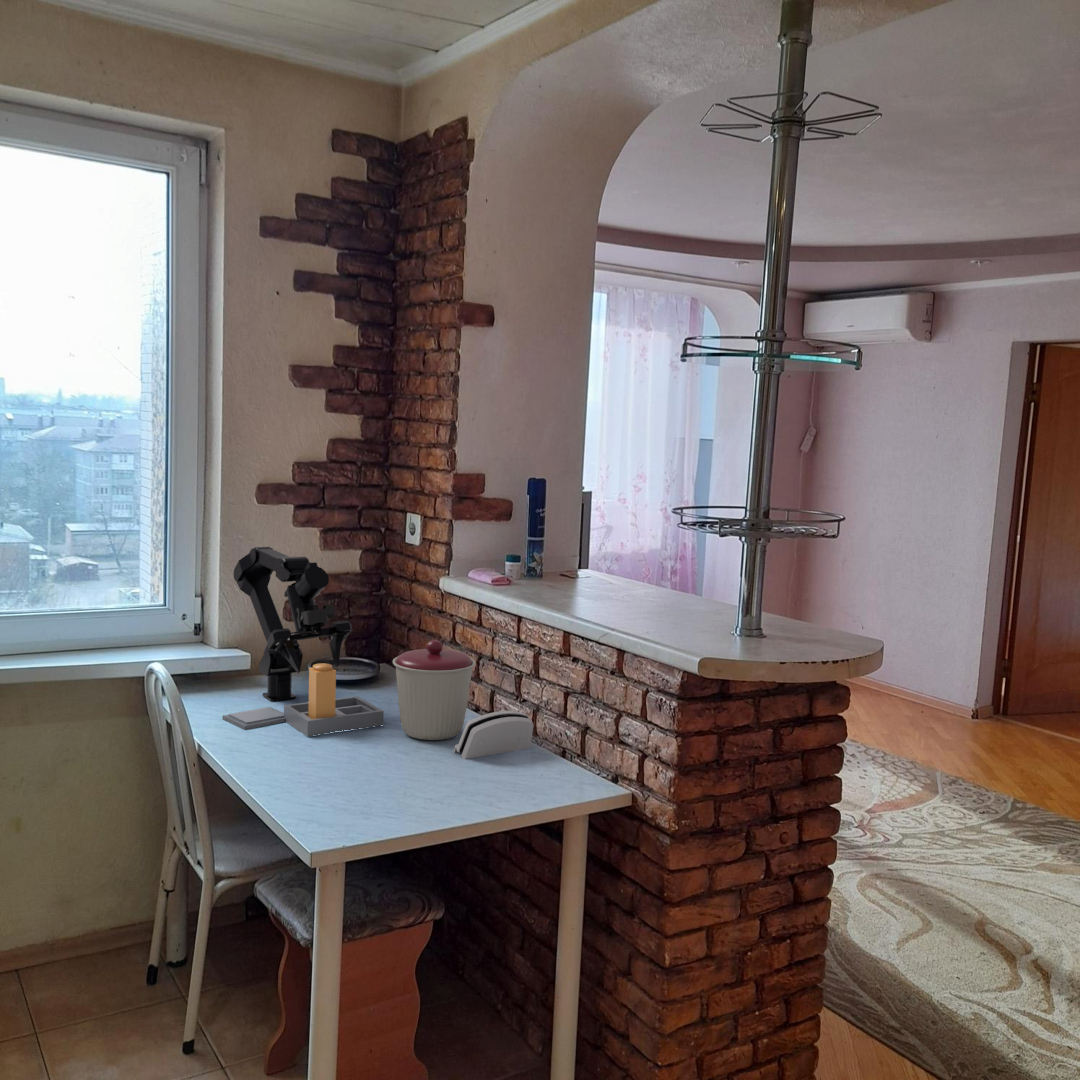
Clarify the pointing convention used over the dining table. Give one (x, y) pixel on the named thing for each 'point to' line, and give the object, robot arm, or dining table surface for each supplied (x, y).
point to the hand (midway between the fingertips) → (318, 669)
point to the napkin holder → (495, 734)
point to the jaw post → (322, 691)
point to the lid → (255, 718)
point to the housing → (346, 716)
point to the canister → (433, 691)
